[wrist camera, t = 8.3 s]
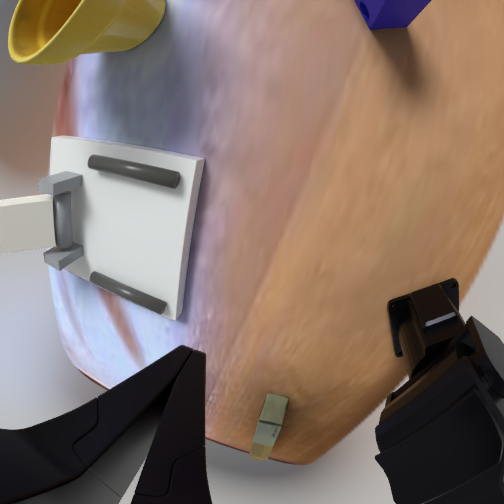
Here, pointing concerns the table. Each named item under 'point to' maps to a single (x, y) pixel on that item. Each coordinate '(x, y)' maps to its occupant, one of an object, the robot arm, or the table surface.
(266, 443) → the medication box
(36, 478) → the robot arm
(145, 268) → the white base plate
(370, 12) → the cable clip
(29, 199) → the lever
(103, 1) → the plant pot
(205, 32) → the table surface
